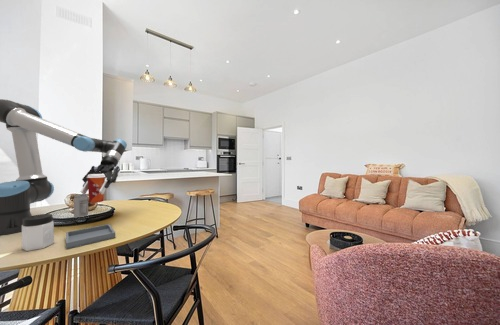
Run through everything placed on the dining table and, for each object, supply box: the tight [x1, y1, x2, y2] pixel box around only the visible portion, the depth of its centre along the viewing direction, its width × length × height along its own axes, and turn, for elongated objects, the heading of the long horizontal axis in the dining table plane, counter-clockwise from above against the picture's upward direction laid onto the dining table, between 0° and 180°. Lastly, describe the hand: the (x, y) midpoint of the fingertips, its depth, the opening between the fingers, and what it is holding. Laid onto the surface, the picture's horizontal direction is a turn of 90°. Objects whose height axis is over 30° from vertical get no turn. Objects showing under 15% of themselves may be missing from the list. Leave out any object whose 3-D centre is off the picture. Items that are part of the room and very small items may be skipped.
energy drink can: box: [73, 193, 89, 218], centre depth 107 cm, size 6×6×15 cm
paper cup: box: [87, 173, 107, 204], centre depth 99 cm, size 8×8×14 cm
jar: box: [21, 213, 55, 252], centre depth 78 cm, size 9×8×12 cm
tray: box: [65, 223, 116, 250], centre depth 86 cm, size 16×15×2 cm
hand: (92, 192), depth 96 cm, fingers closed on paper cup, 8 cm apart
